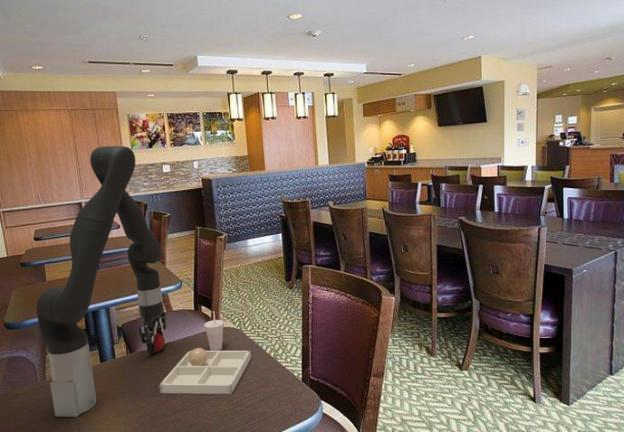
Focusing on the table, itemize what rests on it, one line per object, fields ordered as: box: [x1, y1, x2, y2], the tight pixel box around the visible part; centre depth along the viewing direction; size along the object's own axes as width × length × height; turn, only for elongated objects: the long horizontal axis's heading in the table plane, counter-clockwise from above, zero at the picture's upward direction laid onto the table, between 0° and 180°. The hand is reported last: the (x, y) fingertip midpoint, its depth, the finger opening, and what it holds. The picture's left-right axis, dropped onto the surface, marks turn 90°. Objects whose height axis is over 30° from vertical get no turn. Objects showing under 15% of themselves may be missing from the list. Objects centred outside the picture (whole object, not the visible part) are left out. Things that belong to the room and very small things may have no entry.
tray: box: [158, 350, 252, 395], centre depth 127 cm, size 20×20×3 cm
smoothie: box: [203, 310, 224, 351], centre depth 143 cm, size 6×6×14 cm
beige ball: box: [189, 347, 208, 366], centre depth 132 cm, size 6×6×6 cm
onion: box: [145, 331, 166, 354], centre depth 144 cm, size 6×6×8 cm
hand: (156, 348), depth 144 cm, fingers closed on onion, 6 cm apart
